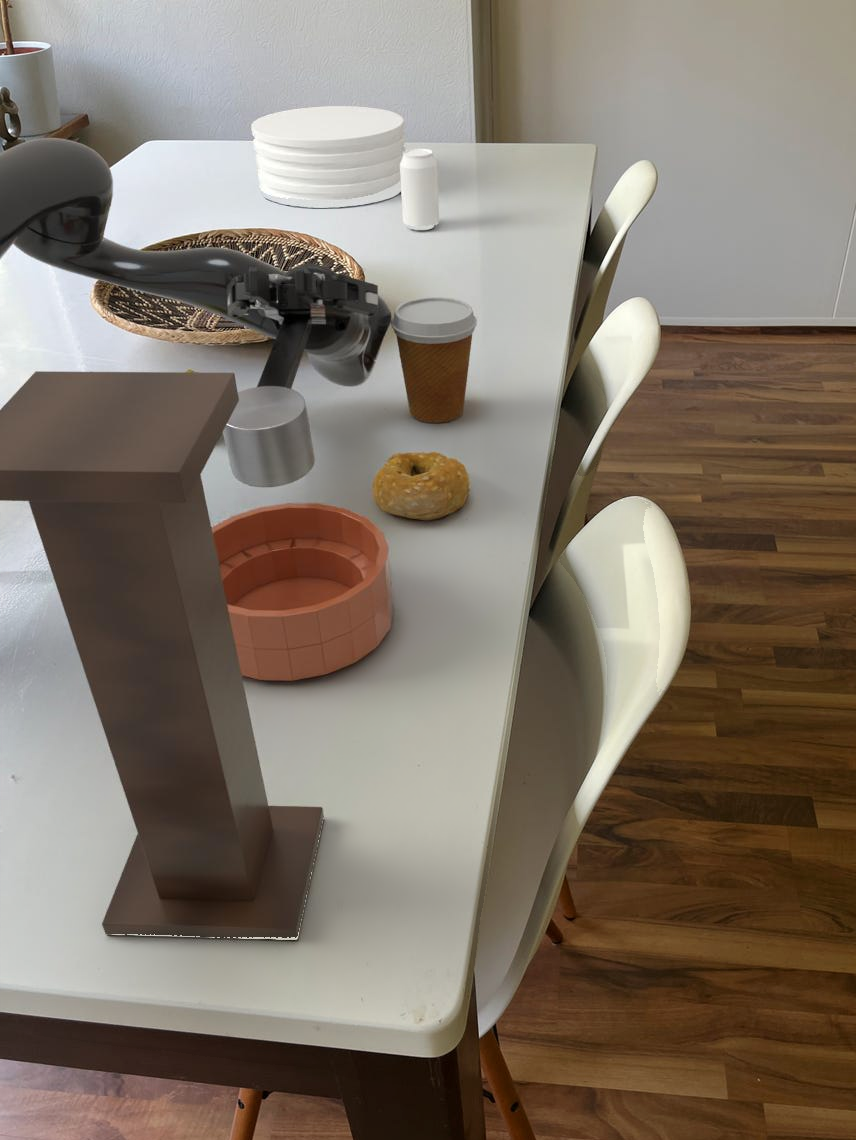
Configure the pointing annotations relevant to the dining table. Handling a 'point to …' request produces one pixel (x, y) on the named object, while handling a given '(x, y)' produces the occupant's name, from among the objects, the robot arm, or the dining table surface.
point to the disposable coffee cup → (434, 355)
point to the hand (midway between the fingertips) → (276, 281)
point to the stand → (159, 644)
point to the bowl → (303, 588)
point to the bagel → (421, 485)
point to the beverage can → (419, 187)
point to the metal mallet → (273, 416)
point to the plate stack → (328, 152)
